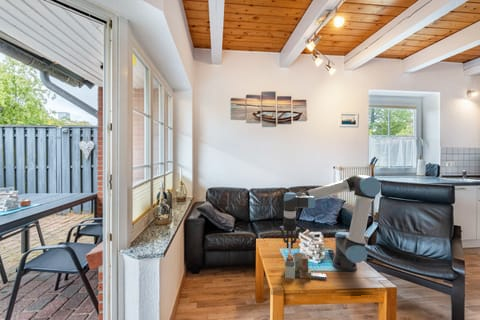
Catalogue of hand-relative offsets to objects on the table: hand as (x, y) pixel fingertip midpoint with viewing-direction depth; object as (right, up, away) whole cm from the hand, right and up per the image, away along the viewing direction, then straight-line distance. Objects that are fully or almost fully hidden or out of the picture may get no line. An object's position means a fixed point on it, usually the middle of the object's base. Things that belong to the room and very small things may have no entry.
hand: (289, 253), depth 147 cm
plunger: (0, -4, 0) cm, 4 cm away
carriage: (+9, -14, -2) cm, 17 cm away
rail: (+12, -14, -2) cm, 19 cm away
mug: (+6, -14, +7) cm, 17 cm away
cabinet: (0, -14, 0) cm, 14 cm away
